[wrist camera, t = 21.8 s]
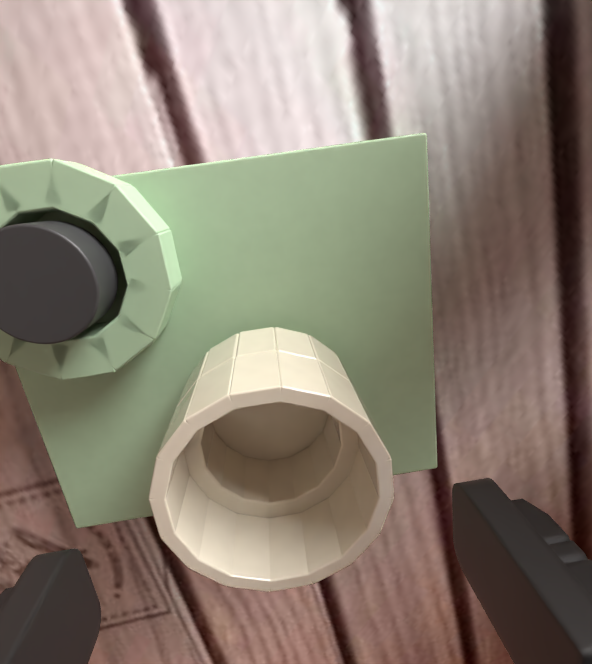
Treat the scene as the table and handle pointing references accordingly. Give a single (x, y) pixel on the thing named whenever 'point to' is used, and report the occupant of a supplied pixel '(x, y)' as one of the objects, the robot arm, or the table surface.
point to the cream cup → (270, 465)
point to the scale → (230, 297)
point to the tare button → (53, 281)
